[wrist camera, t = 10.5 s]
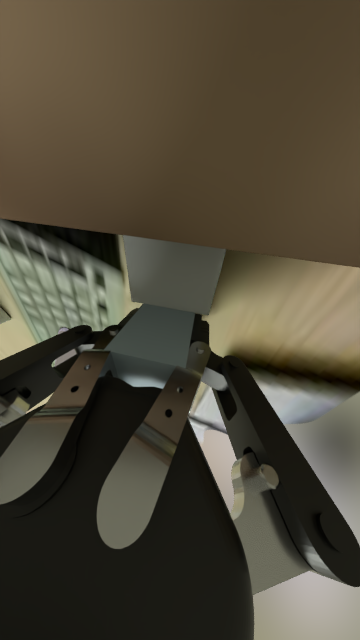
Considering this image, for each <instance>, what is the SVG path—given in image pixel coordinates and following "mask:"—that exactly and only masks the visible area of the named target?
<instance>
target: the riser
mask: <svg viewBox="0 0 360 640" xmlns="http://www.w3.org/2000/svg"><path fill="white" fill-rule="evenodd" d="M0 218H2V219H10V220H17V221H24V222H32V223H39V224H46V225H53V226H61V227H68V228H75V229H82V230H90V231H97V232H104V233H112V234H119V235H126V236H133V237H141V238H148V239H155V240H162V241H170V242H177V243H184V244H192V245H199V246H206V247H213V248H221V249H228V250H235V251H242V252H250V253H257V254H264V255H272V256H279V257H286V258H293V259H301V260H308V261H315V262H322V263H330V264H337V265H344V266H352V267H359V268H360V0H0Z"/></svg>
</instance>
